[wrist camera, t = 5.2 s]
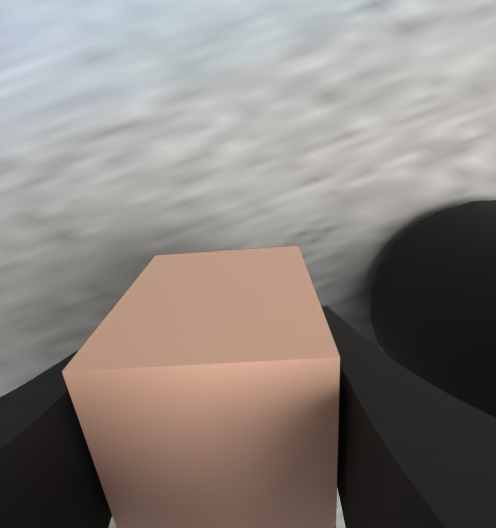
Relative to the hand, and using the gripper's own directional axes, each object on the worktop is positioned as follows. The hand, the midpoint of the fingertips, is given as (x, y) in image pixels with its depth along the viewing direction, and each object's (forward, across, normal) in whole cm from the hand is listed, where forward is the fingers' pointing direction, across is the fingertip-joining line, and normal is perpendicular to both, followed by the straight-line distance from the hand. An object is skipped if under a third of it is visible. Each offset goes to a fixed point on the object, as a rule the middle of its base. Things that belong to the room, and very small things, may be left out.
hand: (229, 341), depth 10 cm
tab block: (+2, 0, 0) cm, 2 cm away
